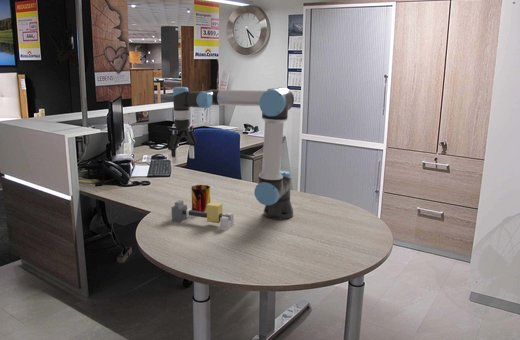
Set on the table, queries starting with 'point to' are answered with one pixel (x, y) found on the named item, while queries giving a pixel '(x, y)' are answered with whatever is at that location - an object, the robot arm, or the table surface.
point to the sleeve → (214, 212)
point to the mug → (200, 197)
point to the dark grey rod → (198, 213)
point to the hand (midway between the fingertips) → (183, 160)
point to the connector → (178, 211)
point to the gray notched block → (226, 222)
